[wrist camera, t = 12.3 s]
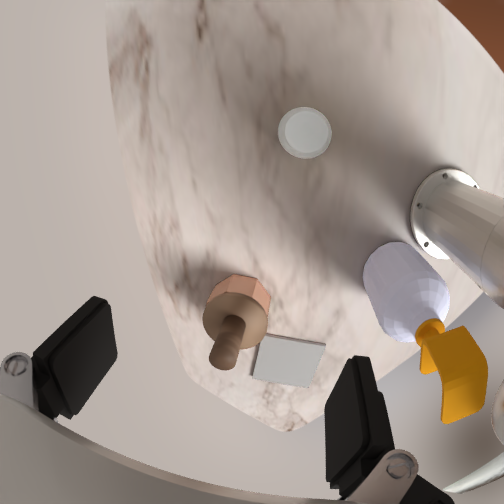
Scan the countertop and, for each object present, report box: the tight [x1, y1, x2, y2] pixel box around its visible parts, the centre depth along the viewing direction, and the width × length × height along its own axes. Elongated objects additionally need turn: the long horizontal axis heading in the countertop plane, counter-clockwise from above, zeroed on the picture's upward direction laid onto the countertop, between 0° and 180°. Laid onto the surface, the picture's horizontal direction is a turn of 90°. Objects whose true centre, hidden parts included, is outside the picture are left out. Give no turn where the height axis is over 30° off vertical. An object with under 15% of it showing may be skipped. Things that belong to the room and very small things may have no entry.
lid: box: [203, 292, 268, 370], centre depth 34 cm, size 8×8×8 cm
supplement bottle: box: [278, 107, 332, 159], centre depth 28 cm, size 5×5×10 cm
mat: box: [252, 334, 326, 388], centre depth 45 cm, size 10×10×1 cm
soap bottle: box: [362, 242, 488, 424], centre depth 26 cm, size 9×9×25 cm
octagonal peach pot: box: [206, 274, 271, 316], centre depth 40 cm, size 8×8×5 cm
